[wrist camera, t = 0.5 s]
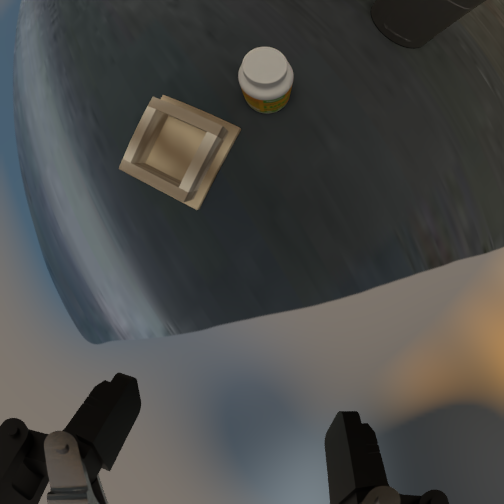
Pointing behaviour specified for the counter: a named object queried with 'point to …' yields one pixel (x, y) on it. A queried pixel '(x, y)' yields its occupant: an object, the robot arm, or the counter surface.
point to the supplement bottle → (265, 79)
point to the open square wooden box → (178, 149)
